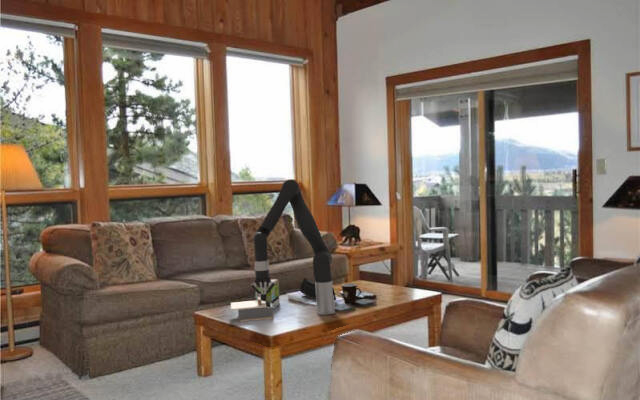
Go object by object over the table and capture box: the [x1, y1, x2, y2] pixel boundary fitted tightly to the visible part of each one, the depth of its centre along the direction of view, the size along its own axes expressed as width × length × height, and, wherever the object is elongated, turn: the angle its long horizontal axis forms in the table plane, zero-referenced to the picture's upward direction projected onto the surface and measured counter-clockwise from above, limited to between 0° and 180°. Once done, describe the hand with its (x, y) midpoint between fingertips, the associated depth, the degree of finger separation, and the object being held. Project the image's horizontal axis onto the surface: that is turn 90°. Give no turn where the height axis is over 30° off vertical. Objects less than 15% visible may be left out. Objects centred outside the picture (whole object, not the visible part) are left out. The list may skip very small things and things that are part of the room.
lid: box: [230, 297, 267, 311], centre depth 298 cm, size 18×14×3 cm
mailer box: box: [237, 301, 274, 322], centre depth 299 cm, size 18×14×6 cm
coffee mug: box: [341, 282, 362, 304], centre depth 319 cm, size 12×9×10 cm
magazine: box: [299, 277, 337, 302], centre depth 332 cm, size 17×3×30 cm
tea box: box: [254, 278, 280, 309], centre depth 319 cm, size 15×10×15 cm
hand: (263, 300), depth 300 cm, fingers closed
